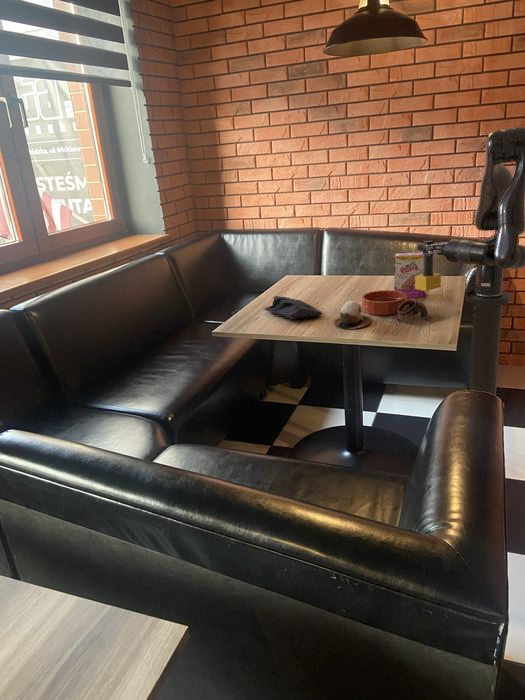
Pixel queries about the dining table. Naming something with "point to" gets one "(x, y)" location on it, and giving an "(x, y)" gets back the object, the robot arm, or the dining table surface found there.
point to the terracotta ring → (383, 302)
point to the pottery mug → (412, 309)
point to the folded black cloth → (291, 308)
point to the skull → (352, 316)
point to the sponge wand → (428, 274)
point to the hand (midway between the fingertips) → (421, 246)
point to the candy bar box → (408, 273)
